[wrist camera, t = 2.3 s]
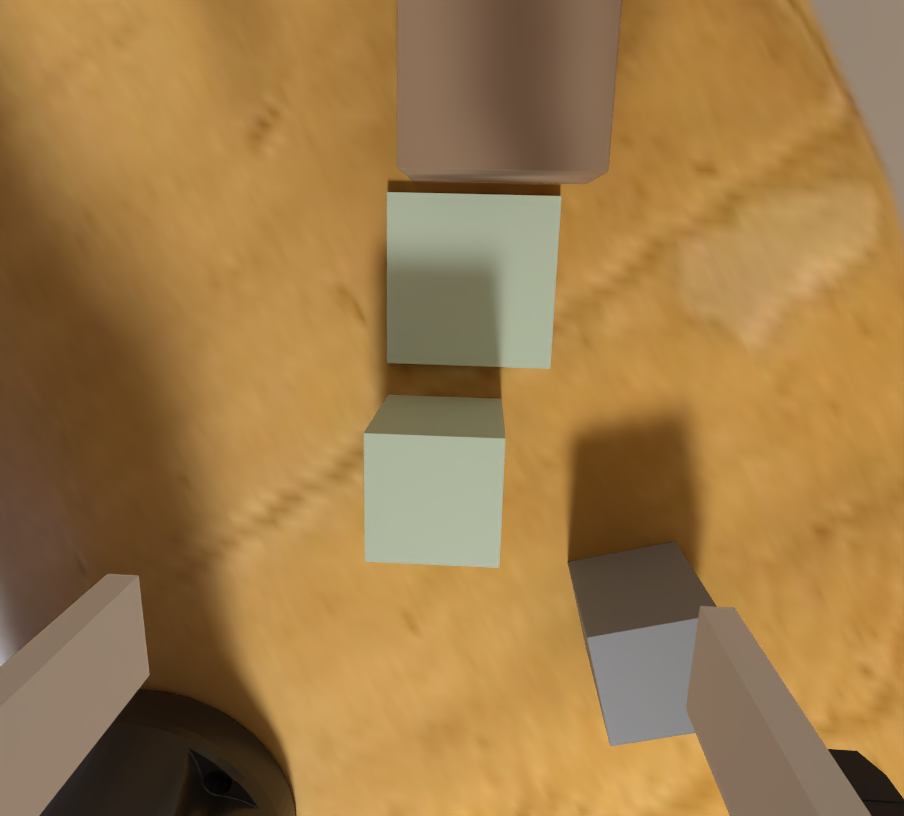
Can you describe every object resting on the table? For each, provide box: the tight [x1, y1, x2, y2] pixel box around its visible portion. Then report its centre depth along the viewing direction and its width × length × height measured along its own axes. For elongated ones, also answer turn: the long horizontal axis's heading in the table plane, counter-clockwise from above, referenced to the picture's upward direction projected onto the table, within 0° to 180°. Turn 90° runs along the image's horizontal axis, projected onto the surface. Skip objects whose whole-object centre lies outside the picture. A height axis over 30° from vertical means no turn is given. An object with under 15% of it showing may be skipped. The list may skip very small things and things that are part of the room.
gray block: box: [568, 542, 717, 746], centre depth 27 cm, size 5×5×6 cm
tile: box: [387, 192, 561, 369], centre depth 27 cm, size 7×7×1 cm
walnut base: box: [397, 0, 622, 184], centre depth 23 cm, size 7×7×5 cm
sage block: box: [364, 395, 505, 568], centre depth 26 cm, size 5×5×6 cm
